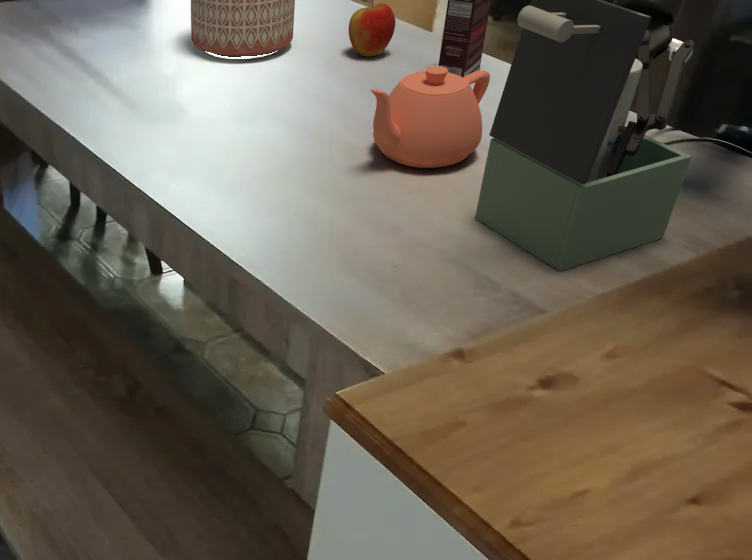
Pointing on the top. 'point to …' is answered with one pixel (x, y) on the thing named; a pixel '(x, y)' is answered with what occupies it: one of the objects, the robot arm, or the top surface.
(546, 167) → the green open box
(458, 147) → the teapot
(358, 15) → the apple
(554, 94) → the lid
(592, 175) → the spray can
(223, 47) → the planter
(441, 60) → the supplement box
